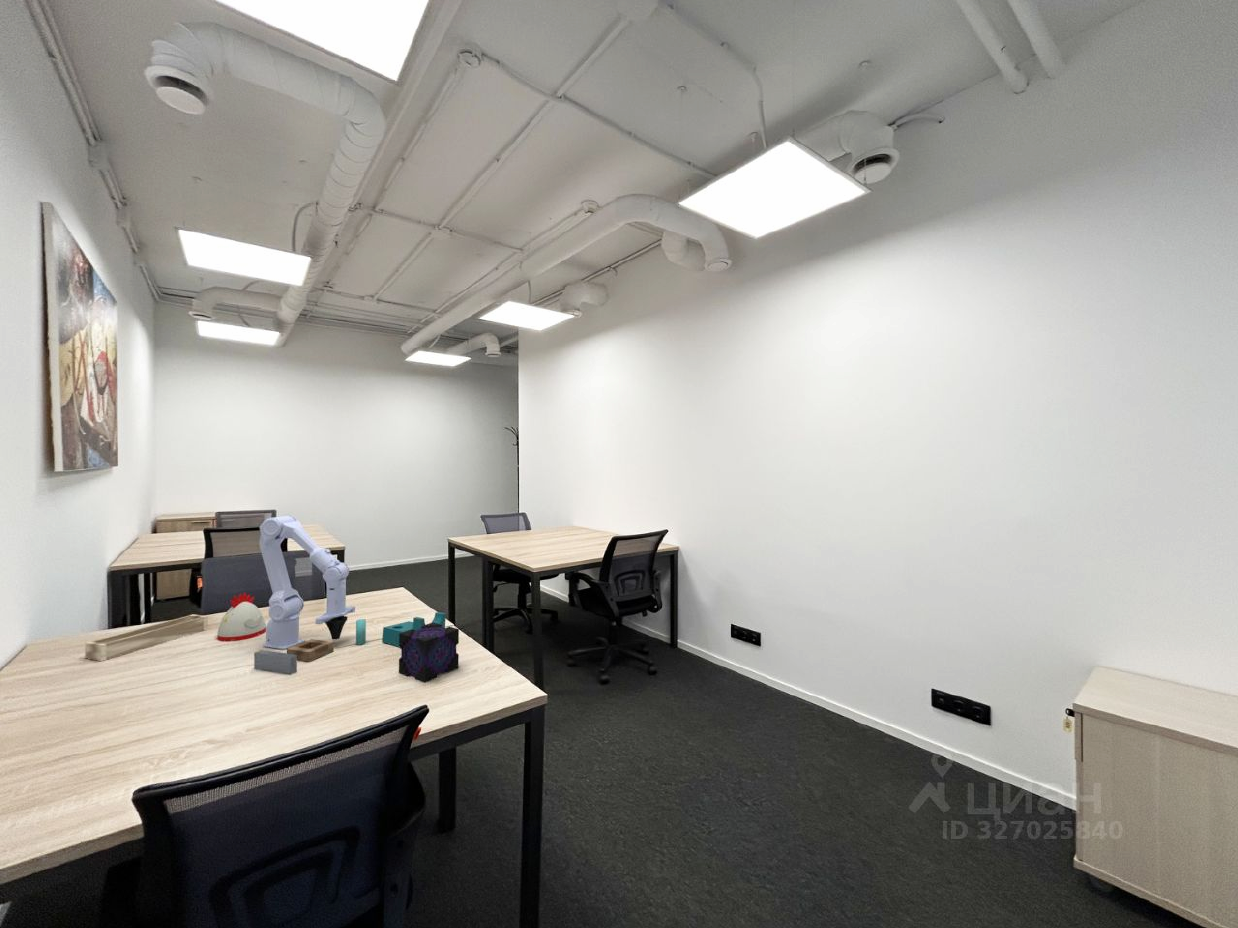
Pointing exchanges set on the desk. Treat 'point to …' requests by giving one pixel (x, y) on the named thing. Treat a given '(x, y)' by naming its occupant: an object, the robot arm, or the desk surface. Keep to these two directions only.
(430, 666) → the energy cube
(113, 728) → the desk surface
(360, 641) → the dowel
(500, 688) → the desk surface
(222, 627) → the kitchen timer
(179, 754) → the desk surface
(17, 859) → the desk surface
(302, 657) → the socket block
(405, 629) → the teal l-shaped bracket
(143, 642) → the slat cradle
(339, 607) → the robot arm
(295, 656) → the wall
